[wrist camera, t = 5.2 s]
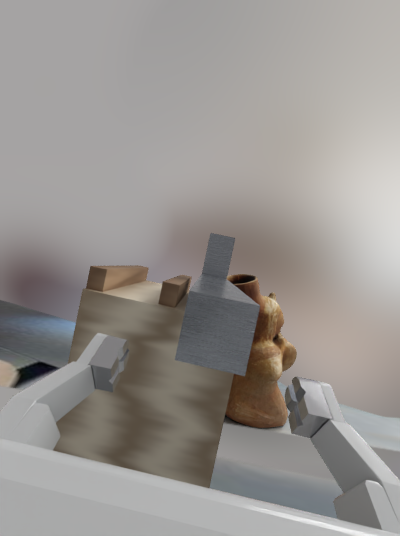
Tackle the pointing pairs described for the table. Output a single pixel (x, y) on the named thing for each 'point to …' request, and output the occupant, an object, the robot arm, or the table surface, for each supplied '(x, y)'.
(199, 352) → the bracket
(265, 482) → the table surface
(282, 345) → the ceramic vessel
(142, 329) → the stand
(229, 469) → the table surface
